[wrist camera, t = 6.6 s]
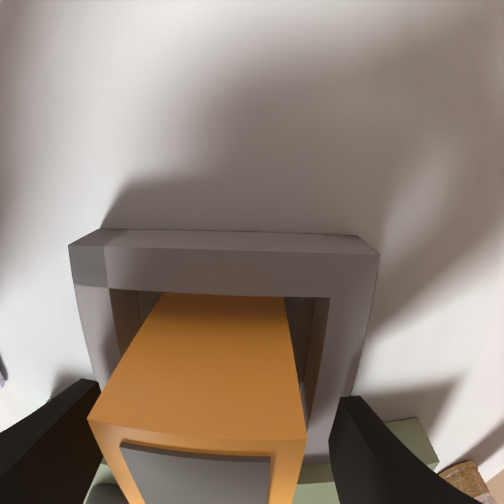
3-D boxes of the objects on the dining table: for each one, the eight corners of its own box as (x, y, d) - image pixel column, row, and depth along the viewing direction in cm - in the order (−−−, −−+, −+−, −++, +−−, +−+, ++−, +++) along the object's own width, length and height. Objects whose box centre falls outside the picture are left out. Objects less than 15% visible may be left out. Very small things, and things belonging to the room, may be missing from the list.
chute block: (178, 408, 12) (145, 532, 6) (163, 292, 10) (83, 423, 5) (274, 412, 12) (280, 544, 6) (283, 296, 10) (307, 445, 5)
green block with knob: (92, 482, 15) (70, 538, 10) (3, 228, 10) (-88, 270, 5) (373, 497, 15) (388, 558, 10) (472, 242, 10) (566, 294, 5)
